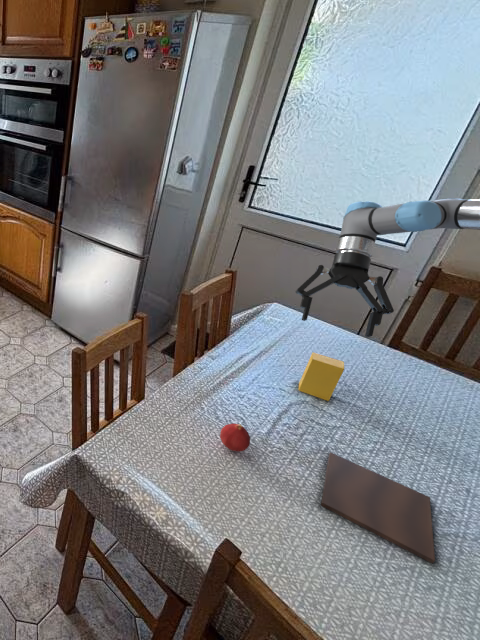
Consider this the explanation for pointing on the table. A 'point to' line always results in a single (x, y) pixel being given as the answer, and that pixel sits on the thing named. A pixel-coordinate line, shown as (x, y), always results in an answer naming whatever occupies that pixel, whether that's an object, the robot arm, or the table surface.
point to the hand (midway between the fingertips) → (335, 327)
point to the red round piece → (235, 437)
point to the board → (379, 506)
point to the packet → (321, 376)
